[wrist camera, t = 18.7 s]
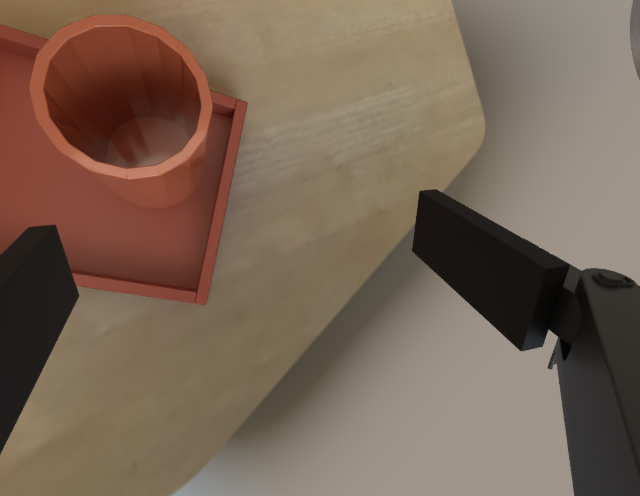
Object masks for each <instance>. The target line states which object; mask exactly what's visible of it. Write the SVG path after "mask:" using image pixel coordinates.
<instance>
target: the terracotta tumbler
mask: <svg viewBox="0 0 640 496" xmlns="http://www.w3.org/2000/svg"><path fill="white" fill-rule="evenodd" d="M29 86H30V87H29V90H30V94H31V99H32V103H33V108H34V112H35V116H36V120H37V122H38V124H39V125H40V126H41V128H42V129H43V130H44V132H45V133H46V135H47V136H48V137H49V139H50V140H51V141H52V143H53V144H54V145H55V147H56V148H57V150H59V151H60V152H61V153H62V154H63V155H65V156H66V157H67V158H69V159H70V160H71V161H73V162H74V163H75V164H77V165H78V166H79V167H80V168H82V169H83V170H84V171H86V172H87V173H88V174H90V175H91V176H92V177H94V178H95V179H96V180H98V181H99V182H100V183H102V184H103V185H104V186H105V187H107V188H108V189H109V190H111V191H112V192H113V193H115V194H116V195H118V196H119V197H121V198H123V199H124V200H126V201H127V202H129V203H130V204H133V205H136V206H139V207H143V208H149V209H162V208H168V207H172V206H175V205H177V204H179V203H181V202H183V201H185V200H186V199H187V198H189V197H190V196H191V195H192V194H193V193H194V192H195V190H196V189H197V188H198V186H199V184H200V182H201V181H202V178H203V173H204V168H205V163H206V156H207V148H208V140H209V133H210V125H211V117H212V110H213V105H212V100H211V95H210V90H209V85H208V80H207V77H206V75H205V73H204V72H203V70H202V68H201V67H200V65H199V64H198V62H197V61H196V59H195V57H194V56H193V54H192V53H191V51H190V50H189V49H188V48H187V47H186V46H185V45H183V44H182V43H181V42H180V41H178V40H177V39H176V38H175V37H173V36H172V35H171V34H169V33H168V32H167V31H166V30H164V29H163V28H161V27H160V26H157V25H154V24H151V23H148V22H145V21H142V20H140V19H137V18H134V17H131V16H127V15H92V16H89V17H86V18H84V19H81V20H79V21H77V22H74V23H72V24H69V25H67V26H64V27H62V28H60V29H59V30H58V31H57V32H56V33H55V34H54V35H53V36H52V37H51V38H50V40H49V41H48V42H47V43H46V44H45V45H44V46H43V47H42V49H41V50H40V51H39V52H38V54H37V56H36V60H35V64H34V68H33V72H32V76H31V80H30V84H29Z"/></svg>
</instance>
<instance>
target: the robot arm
mask: <svg viewBox="0 0 640 496" xmlns="http://www.w3.org/2000/svg"><path fill="white" fill-rule="evenodd" d="M412 251H413V252H414V253H415V254H416V255H417V256H418V257H419V258H420V259H421V260H422V261H423V262H424V263H426V264H427V265H428V266H429V267H430V268H431V269H432V270H433V271H434V272H435V273H437V275H439V276H440V277H441V278H442V279H443V280H444V281H445V282H446V283H447V284H448V285H449V286H451V287H452V288H453V289H454V290H455V291H456V292H457V293H458V294H459V295H460V296H461V297H463V298H464V299H465V300H466V301H467V302H468V303H469V304H470V305H471V306H472V307H473V308H474V309H476V310H477V311H478V312H479V313H480V314H481V315H482V316H483V317H484V318H485V319H487V320H488V321H489V322H490V323H491V324H492V325H493V326H494V327H495V328H496V329H497V330H498V331H500V332H501V333H502V334H503V335H504V336H505V337H506V338H507V339H508V340H509V341H510V342H511V343H513V344H514V345H515V346H516V347H517V348H518V349H519V350H520V351H525V350H529V349H534V348H538V347H542V346H543V344H544V341H545V338H546V335H547V332H548V329H549V330H551V331H552V332H553V333H554V334H555V335H557V336H558V339H557V342H556V345H555V348H554V351H553V353H552V356H551V359H550V362H549V365H548V368H549V369H552V368H553V365H554V364H557V369H558V377H559V384H560V391H561V399H562V407H563V414H564V422H565V429H566V437H567V444H568V452H569V459H570V467H571V473H572V481H573V489H574V496H640V286H638V285H637V284H636V283H635V282H634V281H633V280H632V279H631V278H628V277H627V276H624V275H622V274H619V273H617V272H614V271H610V270H606V269H597V268H591V269H585V270H583V271H581V270H579V269H577V268H576V267H574V266H572V265H570V264H568V263H567V262H565V261H563V260H561V259H560V258H558V257H556V256H554V255H552V254H550V253H549V252H547V251H545V250H544V249H541V248H539V247H538V246H537V245H535V244H533V243H531V242H529V241H528V240H525V239H523V238H521V237H519V236H518V235H516V234H514V233H512V232H511V231H509V230H507V229H505V228H504V227H502V226H500V225H498V224H497V223H495V222H493V221H491V220H489V219H488V218H486V217H484V216H482V215H481V214H479V213H477V212H475V211H473V210H472V209H470V208H468V207H466V206H465V205H463V204H461V203H459V202H458V201H456V200H454V199H452V198H451V197H449V196H447V195H445V194H444V193H442V192H440V191H438V190H436V189H435V190H424V191H420V192H419V200H418V208H417V216H416V224H415V232H414V240H413V248H412ZM78 297H79V293H78V290H77V287H76V284H75V281H74V278H73V275H72V272H71V269H70V266H69V263H68V260H67V257H66V254H65V251H64V248H63V245H62V242H61V239H60V236H59V233H58V230H57V227H56V224H55V225H44V226H33V227H28V228H27V229H26V230H25V231H24V232H23V233H22V234H21V235H20V236H19V237H18V238H17V239H16V240H15V241H14V242H13V243H12V244H11V245H10V246H9V247H8V248H7V249H6V250H5V251H4V252H3V253H2V254H1V255H0V454H1V452H2V450H3V448H4V446H5V444H6V442H7V440H8V438H9V436H10V434H11V432H12V430H13V428H14V426H15V424H16V422H17V420H18V418H19V416H20V414H21V412H22V410H23V408H24V406H25V404H26V402H27V400H28V398H29V396H30V394H31V392H32V390H33V388H34V386H35V384H36V382H37V380H38V378H39V376H40V374H41V372H42V370H43V368H44V366H45V364H46V361H47V359H48V357H49V355H50V353H51V351H52V349H53V347H54V345H55V343H56V341H57V339H58V337H59V335H60V333H61V331H62V329H63V327H64V325H65V323H66V321H67V319H68V317H69V315H70V313H71V311H72V309H73V307H74V305H75V303H76V301H77V299H78Z"/></svg>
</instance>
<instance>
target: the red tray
mask: <svg viewBox="0 0 640 496" xmlns="http://www.w3.org/2000/svg"><path fill="white" fill-rule="evenodd" d="M48 41H49V40H48V39H45V38H42V37H39V36H35V35H32V34H29V33H26V32H23V31H20V30H16V29H13V28H10V27H7V26H4V25H0V255H1V254H2V253H3V252H4V251H5V250H6V249H7V248H8V247H9V246H10V245H11V244H12V243H13V242H14V241H15V240H16V239H17V238H18V237H19V236H20V235H21V234H22V233H23V232H24V231H25V230H26V229H27V228H28V227H33V226H44V225H55V224H56V227H57V230H58V233H59V236H60V239H61V242H62V245H63V248H64V251H65V254H66V257H67V260H68V263H69V266H70V269H71V272H72V275H73V278H74V281H75V284H76V286H80V287H87V288H93V289H100V290H107V291H114V292H121V293H127V294H134V295H141V296H148V297H155V298H161V299H168V300H175V301H182V302H189V303H196V304H203V305H206V304H207V299H208V294H209V289H210V284H211V279H212V274H213V269H214V265H215V260H216V255H217V250H218V245H219V240H220V235H221V230H222V226H223V221H224V216H225V211H226V206H227V201H228V196H229V191H230V187H231V182H232V177H233V172H234V167H235V162H236V157H237V152H238V148H239V143H240V138H241V133H242V128H243V123H244V118H245V113H246V109H247V104H248V103H247V102H245V101H242V100H239V99H236V98H233V97H230V96H226V95H223V94H220V93H217V92H214V91H211V90H210V95H211V100H212V105H213V110H212V117H211V125H210V133H209V140H208V148H207V156H206V163H205V168H204V173H203V178H202V181H201V182H200V184H199V186H198V188H197V189H196V190H195V192H194V193H193V194H192V195H191V196H190V197H189V198H187V199H186V200H185V201H183V202H181V203H179V204H177V205H175V206H172V207H168V208H162V209H149V208H143V207H139V206H136V205H133V204H130V203H129V202H127V201H126V200H124V199H123V198H121V197H119V196H118V195H116V194H115V193H113V192H112V191H111V190H109V189H108V188H107V187H105V186H104V185H103V184H102V183H100V182H99V181H98V180H96V179H95V178H94V177H92V176H91V175H90V174H88V173H87V172H86V171H84V170H83V169H82V168H80V167H79V166H78V165H77V164H75V163H74V162H73V161H71V160H70V159H69V158H67V157H66V156H65V155H63V154H62V153H61V152H60V151H59V150H57V148H56V147H55V145H54V144H53V143H52V141H51V140H50V139H49V137H48V136H47V135H46V133H45V132H44V130H43V129H42V128H41V126H40V125H39V124H38V122H37V120H36V116H35V112H34V108H33V103H32V99H31V94H30V90H29V87H30V86H29V84H30V80H31V76H32V72H33V68H34V64H35V60H36V56H37V54H38V52H39V51H40V50H41V49H42V47H43V46H44V45H45V44H46V43H47V42H48Z"/></svg>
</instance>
